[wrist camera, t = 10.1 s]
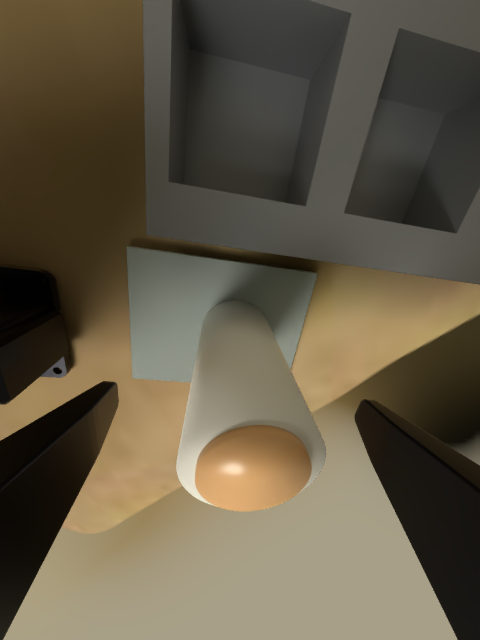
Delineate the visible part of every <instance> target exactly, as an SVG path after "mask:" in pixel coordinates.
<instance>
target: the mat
mask: <svg viewBox="0 0 480 640" xmlns="http://www.w3.org/2000/svg"><path fill="white" fill-rule="evenodd" d="M126 249H127V270H128V291H129V313H130V334H131V355H132V376H133V378H135V379H149V380H164V381H178V382H191V381H192V376H193V370H194V365H195V360H196V354H197V349H198V344H199V338H200V333H201V327H202V323H203V320H204V318H205V316H206V315H207V313H208V312H209V311H210V310H211V309H212V308H213V307H215V306H216V305H218V304H220V303H222V302H225V301H229V300H242V301H246V302H249V303H252V304H254V305H255V306H257V307H258V308H259V309H260V310H261V311H262V312H263V314H264V315H265V317H266V319H267V321H268V323H269V326H270V328H271V330H272V332H273V334H274V336H275V338H276V340H277V342H278V345H279V347H280V349H281V351H282V353H283V355H284V357H285V359H286V362H287V364H288V366H289V368H290V369H291V366H292V362H293V359H294V355H295V352H296V348H297V345H298V341H299V338H300V334H301V331H302V327H303V324H304V320H305V317H306V313H307V310H308V306H309V302H310V299H311V295H312V292H313V288H314V285H315V281H316V278H317V273H316V272H312V271H305V270H298V269H291V268H284V267H277V266H270V265H263V264H256V263H249V262H241V261H234V260H227V259H220V258H213V257H206V256H199V255H192V254H185V253H178V252H171V251H164V250H157V249H149V248H142V247H135V246H127V247H126Z"/></svg>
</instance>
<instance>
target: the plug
mask: <svg viewBox="0 0 480 640" xmlns="http://www.w3.org/2000/svg"><path fill="white" fill-rule="evenodd" d="M325 457H326V447H325V443H324V440H323V438H322V436H321V434H320V432H319V430H318V428H317V425H316V423H315V421H314V419H313V417H312V415H311V413H310V410H309V408H308V406H307V404H306V402H305V400H304V398H303V396H302V393H301V391H300V389H299V387H298V385H297V383H296V381H295V379H294V376H293V374H292V372H291V370H290V368H289V366H288V364H287V362H286V359H285V357H284V355H283V353H282V351H281V349H280V347H279V345H278V342H277V340H276V338H275V336H274V334H273V332H272V330H271V328H270V326H269V323H268V321H267V319H266V317H265V315H264V314H263V312H262V311H261V310H260V309H259V308H258V307H257V306H255V305H254V304H252V303H249V302H246V301H242V300H229V301H225V302H222V303H220V304H218V305H216V306H215V307H213V308H212V309H211V310H210V311H209V312H208V313H207V315H206V316H205V318H204V320H203V323H202V327H201V333H200V338H199V344H198V349H197V354H196V360H195V365H194V370H193V376H192V381H191V387H190V392H189V397H188V403H187V408H186V413H185V419H184V424H183V430H182V435H181V440H180V446H179V451H178V456H177V463H176V470H177V475H178V478H179V480H180V482H181V484H182V485H183V487H184V488H185V489H186V490H187V491H188V492H189V493H190V494H191V495H193V496H194V497H196V498H197V499H199V500H201V501H203V502H205V503H208V504H210V505H214V506H217V507H220V508H223V509H227V510H232V511H257V510H263V509H267V508H271V507H274V506H277V505H279V504H281V503H284V502H286V501H288V500H289V499H291V498H292V497H294V496H295V495H297V494H298V493H300V492H301V491H302V490H304V489H305V488H306V487H307V486H309V485H310V484H311V483H312V482H313V481H314V480H315V478H316V477H317V476H318V474H319V473H320V471H321V469H322V467H323V465H324V462H325Z"/></svg>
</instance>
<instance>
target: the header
mask: <svg viewBox="0 0 480 640" xmlns="http://www.w3.org/2000/svg"><path fill="white" fill-rule="evenodd" d="M143 41H144V112H145V183H146V235H149V236H156V237H163V238H170V239H176V240H183V241H190V242H196V243H203V244H210V245H217V246H223V247H230V248H237V249H244V250H250V251H257V252H264V253H271V254H277V255H284V256H291V257H297V258H304V259H311V260H318V261H324V262H331V263H338V264H345V265H351V266H358V267H365V268H372V269H378V270H385V271H392V272H398V273H405V274H412V275H419V276H425V277H432V278H439V279H446V280H452V281H459V282H466V283H473V284H479V285H480V0H143Z"/></svg>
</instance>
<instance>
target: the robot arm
mask: <svg viewBox="0 0 480 640" xmlns="http://www.w3.org/2000/svg"><path fill="white" fill-rule="evenodd" d="M39 276H40V277H42V278H43V279H44V281H45V283H42V282H41V281H40V279H39ZM68 352H69V348H68V343H67V337H66V331H65V325H64V320H63V314H62V313H61V310H60V304H59V299H58V293H57V287H56V282H55V278H54V276H53V275H52V274H51V273H50V272H48V271H47V270H43V269H35V268H27V267H19V266H11V265H3V264H0V404H7V403H9V402H10V401H11V400H13V399H14V398H15V397H16V396H17V395H19V394H20V393H21V392H22V391H23V390H25V389H26V388H27V387H28V386H29V385H30V384H32V383H33V382H34V381H35V380H36V379H38V378H39V377H40V376H42V377H57V378H60V377H64V376H65V375H66V374H67V373H68V372H69V371H70V369H71V367H70V361H69V355H68ZM58 368H60V369H61V370H60V369H58ZM118 402H119V399H118V387H117V383H116V382H109V381H103V382H101V383H99V384H97V385H95V386H94V387H92V388H90V389H89V390H87V391H85V392H83V393H82V394H80V395H78V396H77V397H75V398H73V399H71V400H70V401H68V402H66V403H65V404H63V405H61V406H59V407H58V408H56V409H54V410H53V411H51V412H49V413H47V414H46V415H44V416H42V417H41V418H39V419H37V420H35V421H34V422H32V423H30V424H29V425H27V426H25V427H23V428H22V429H20V430H18V431H17V432H15V433H13V434H11V435H10V436H8V437H6V438H5V439H3V440H1V441H0V640H3V639H4V637H5V635H6V633H7V631H8V629H9V627H10V625H11V623H12V621H13V619H14V617H15V615H16V613H17V612H18V609H19V608H20V606H21V604H22V602H23V600H24V598H25V596H26V594H27V592H28V590H29V588H30V586H31V584H32V582H33V581H34V579H35V577H36V575H37V573H38V571H39V569H40V567H41V565H42V563H43V561H44V559H45V557H46V556H47V554H48V552H49V550H50V548H51V546H52V544H53V542H54V540H55V538H56V536H57V534H58V532H59V530H60V529H61V527H62V525H63V523H64V521H65V519H66V517H67V515H68V513H69V511H70V509H71V507H72V505H73V503H74V502H75V500H76V498H77V496H78V494H79V492H80V490H81V488H82V486H83V484H84V482H85V480H86V478H87V476H88V475H89V473H90V471H91V469H92V467H93V465H94V463H95V461H96V459H97V457H98V455H99V453H100V450H101V448H102V445H103V443H104V440H105V438H106V435H107V433H108V430H109V428H110V425H111V423H112V420H113V418H114V415H115V413H116V410H117V407H118ZM355 422H356V424H357V427H358V430H359V432H360V435H361V437H362V440H363V442H364V445H365V448H366V450H367V453H368V456H369V458H370V460H371V463H372V465H373V467H374V469H375V471H376V473H377V475H378V477H379V479H380V481H381V484H382V486H383V488H384V490H385V492H386V494H387V496H388V498H389V500H390V502H391V504H392V506H393V508H394V510H395V512H396V514H397V516H398V518H399V520H400V522H401V524H402V526H403V529H404V531H405V532H406V535H407V537H408V539H409V541H410V543H411V545H412V547H413V549H414V551H415V553H416V555H417V557H418V559H419V561H420V563H421V565H422V567H423V569H424V571H425V573H426V576H427V578H428V580H429V582H430V583H431V586H432V588H433V590H434V592H435V594H436V596H437V598H438V600H439V602H440V604H441V606H442V608H443V610H444V612H445V614H446V617H447V618H448V621H449V622H450V625H451V626H452V629H453V631H454V633H455V635H456V637H457V639H458V640H480V466H479V465H478V464H476V463H475V462H473V461H471V460H470V459H468V458H467V457H465V456H463V455H462V454H460V453H458V452H457V451H455V450H454V449H452V448H451V447H449V446H447V445H445V444H444V443H443V442H441V441H439V440H438V439H436V438H435V437H433V436H431V435H430V434H428V433H426V432H425V431H423V430H422V429H420V428H419V427H417V426H415V425H414V424H412V423H410V422H408V421H407V420H406V419H404V418H403V417H401V416H399V415H398V414H396V413H395V412H393V411H391V410H390V409H388V408H386V407H385V406H383V405H382V404H380V403H378V402H377V401H375V400H372V399H363V400H362V401H361V402H360V405H359V407H358V409H357V411H356V413H355Z"/></svg>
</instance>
